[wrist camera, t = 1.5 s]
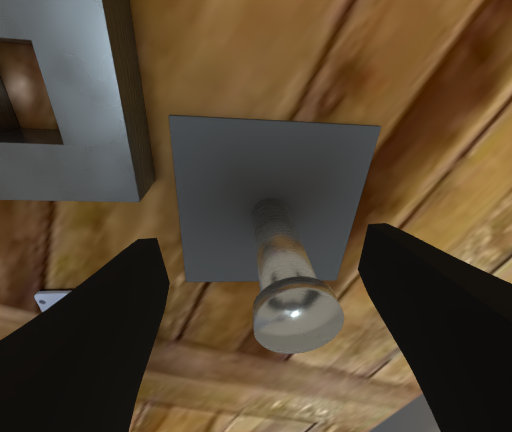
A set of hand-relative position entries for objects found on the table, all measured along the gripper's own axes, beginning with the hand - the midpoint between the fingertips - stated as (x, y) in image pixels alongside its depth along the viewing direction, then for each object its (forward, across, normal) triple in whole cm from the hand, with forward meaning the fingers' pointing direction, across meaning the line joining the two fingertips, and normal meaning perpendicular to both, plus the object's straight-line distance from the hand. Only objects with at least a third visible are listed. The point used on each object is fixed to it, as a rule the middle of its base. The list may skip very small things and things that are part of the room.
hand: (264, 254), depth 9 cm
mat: (+10, -1, +4) cm, 11 cm away
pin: (+10, -1, +4) cm, 11 cm away
